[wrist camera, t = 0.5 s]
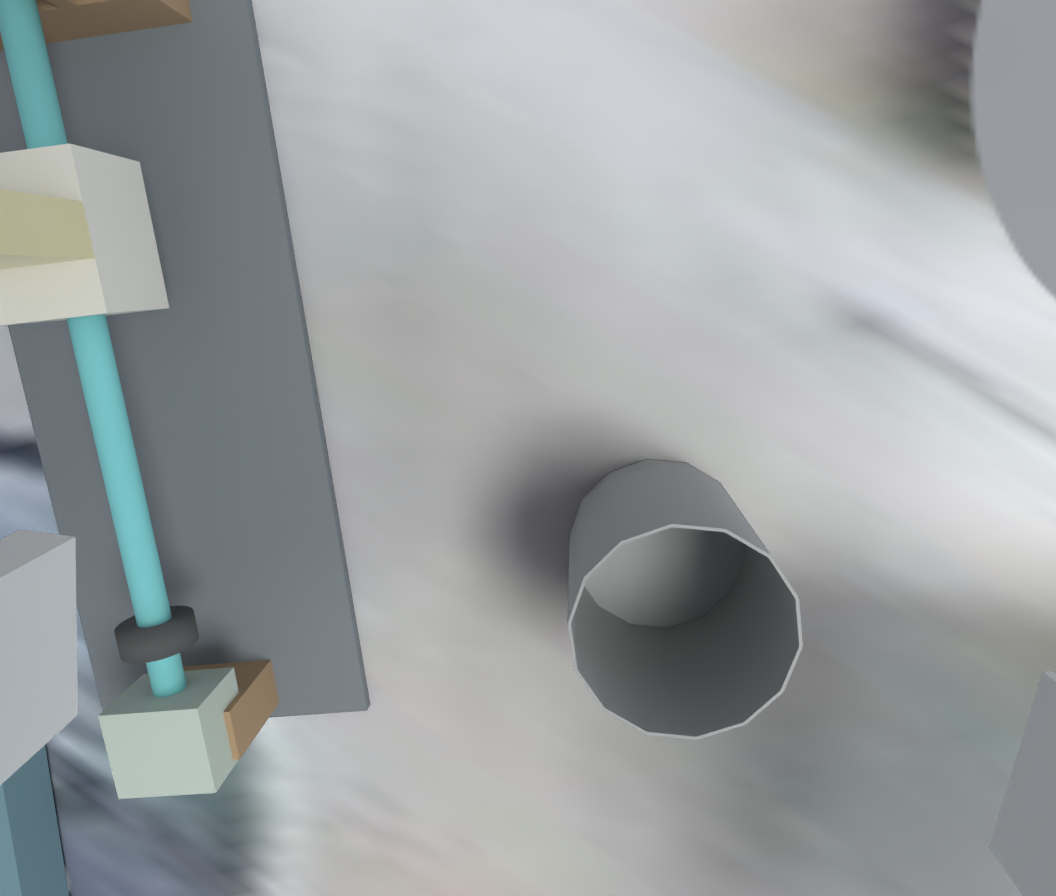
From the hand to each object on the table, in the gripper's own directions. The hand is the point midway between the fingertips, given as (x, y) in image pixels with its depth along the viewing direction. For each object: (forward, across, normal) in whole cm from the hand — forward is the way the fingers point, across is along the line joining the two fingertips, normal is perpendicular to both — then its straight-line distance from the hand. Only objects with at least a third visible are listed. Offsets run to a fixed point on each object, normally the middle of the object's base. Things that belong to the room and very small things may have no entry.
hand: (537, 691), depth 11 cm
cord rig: (+27, -19, -2) cm, 33 cm away
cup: (+27, +5, -7) cm, 28 cm away
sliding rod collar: (+24, -20, +4) cm, 31 cm away
